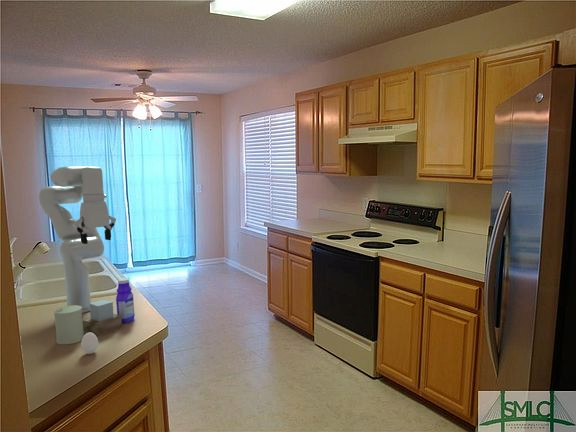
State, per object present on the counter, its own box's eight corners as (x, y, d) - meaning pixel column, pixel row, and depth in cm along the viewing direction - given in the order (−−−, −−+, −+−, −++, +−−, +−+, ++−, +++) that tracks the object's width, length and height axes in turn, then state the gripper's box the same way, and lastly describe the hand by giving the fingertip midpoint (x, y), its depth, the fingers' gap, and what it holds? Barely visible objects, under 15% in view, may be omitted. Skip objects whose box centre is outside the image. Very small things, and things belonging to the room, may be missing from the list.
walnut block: (82, 332, 170) (81, 320, 169) (103, 324, 178) (102, 312, 178) (101, 336, 165) (100, 323, 165) (121, 327, 174) (121, 315, 174)
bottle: (127, 324, 177) (125, 281, 175) (114, 323, 178) (112, 281, 176) (137, 318, 184) (134, 277, 182) (124, 317, 185) (122, 276, 183)
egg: (101, 350, 152) (100, 329, 152) (95, 356, 147) (93, 335, 146) (85, 350, 152) (84, 329, 151) (79, 357, 147) (77, 335, 146)
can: (54, 338, 163) (51, 307, 162) (81, 332, 169) (78, 302, 167) (59, 346, 156) (56, 313, 154) (87, 340, 161) (84, 308, 160)
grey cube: (90, 318, 171) (89, 303, 170) (105, 314, 175) (104, 299, 175) (99, 321, 167) (97, 306, 166) (113, 317, 172) (112, 302, 171)
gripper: (108, 196, 182) (111, 237, 184) (66, 199, 168) (70, 244, 171) (119, 197, 177) (121, 239, 180) (76, 200, 164) (80, 246, 166)
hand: (96, 241), depth 175 cm, fingers open, 9 cm apart
